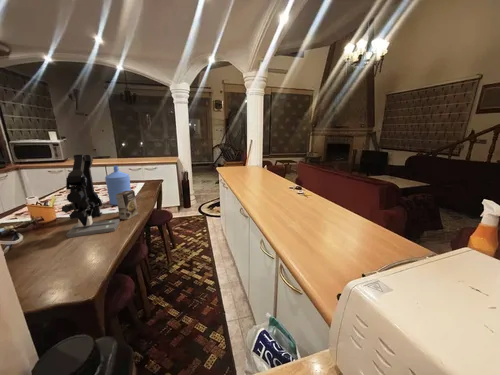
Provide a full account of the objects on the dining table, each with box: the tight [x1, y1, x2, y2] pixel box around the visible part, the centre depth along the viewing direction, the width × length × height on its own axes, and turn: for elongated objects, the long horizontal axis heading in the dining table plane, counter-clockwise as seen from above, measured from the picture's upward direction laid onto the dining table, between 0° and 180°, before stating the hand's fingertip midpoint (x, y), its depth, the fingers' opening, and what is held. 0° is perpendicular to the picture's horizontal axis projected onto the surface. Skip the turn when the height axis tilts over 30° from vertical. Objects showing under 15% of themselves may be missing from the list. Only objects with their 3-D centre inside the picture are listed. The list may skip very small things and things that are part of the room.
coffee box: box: [116, 190, 138, 220], centre depth 139 cm, size 9×6×16 cm
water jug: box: [104, 165, 132, 206], centre depth 164 cm, size 16×16×28 cm
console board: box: [65, 218, 120, 238], centre depth 123 cm, size 13×22×2 cm, turn 110°
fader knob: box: [77, 216, 94, 227], centre depth 121 cm, size 4×5×5 cm
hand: (86, 224), depth 122 cm, fingers closed on fader knob, 4 cm apart
